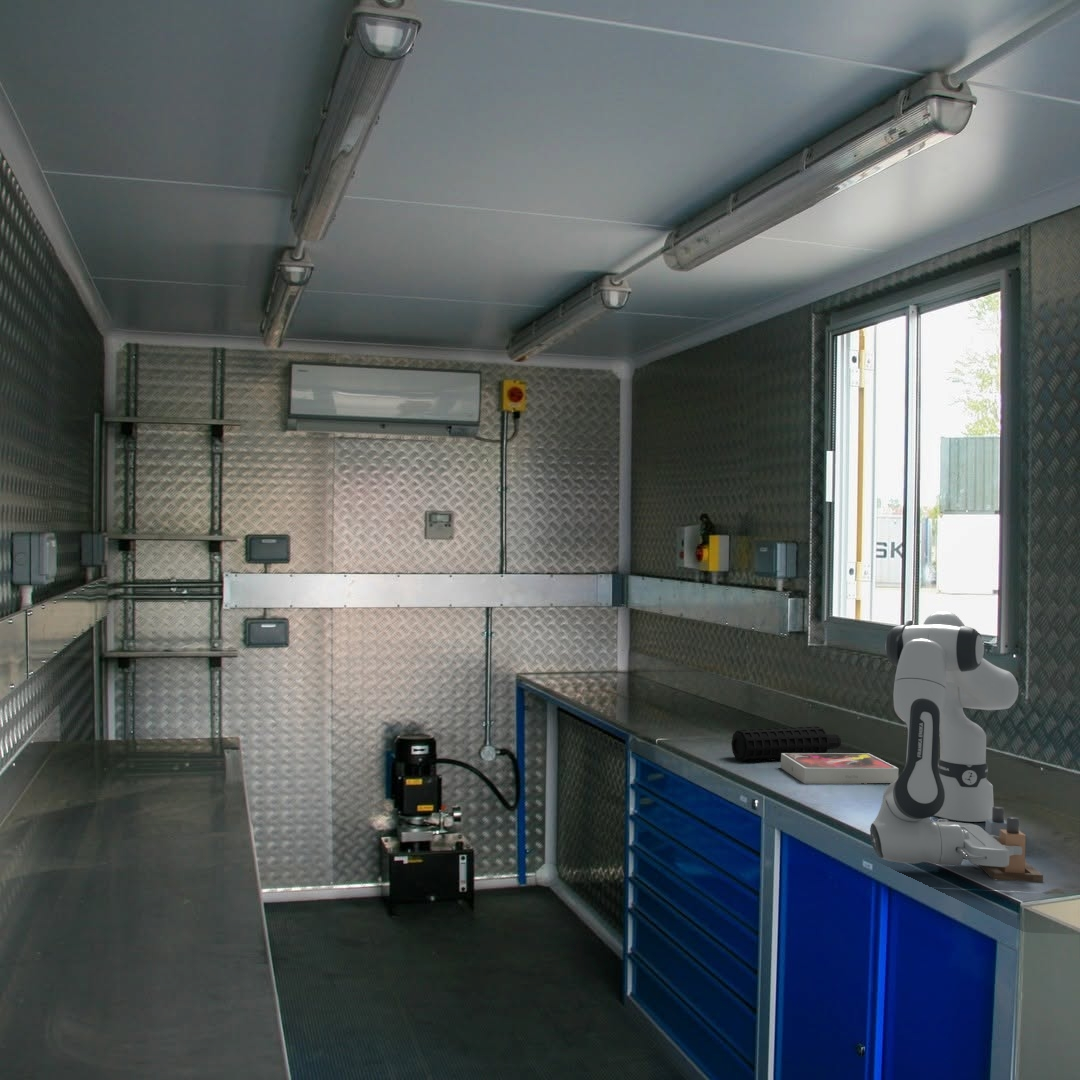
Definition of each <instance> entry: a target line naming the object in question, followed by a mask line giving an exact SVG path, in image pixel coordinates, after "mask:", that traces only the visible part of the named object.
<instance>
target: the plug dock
mask: <svg viewBox="0 0 1080 1080" xmlns="http://www.w3.org/2000/svg"><path fill="white" fill-rule="evenodd" d="M977 866H978V867H979V868H980V869H982V870H983V871H984V872H985V873H986V874H987V875H988V876H989V877H990V878H991V879H992V880H995V879H997V880H995V881H1019V882H1037V883H1043V882H1044V874H1042V873H1041V872H1040V871H1038V870H1037V869H1036V867H1035V868H1034V867H1033V866H1032V865H1031V864H1030V863H1028V862H1027V860H1025V873H1010V872H1001V871H1000V870H999V867H993V866H983V865H977Z"/></svg>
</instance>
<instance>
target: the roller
mask: <svg viewBox="0 0 1080 1080" xmlns="http://www.w3.org/2000/svg"><path fill="white" fill-rule="evenodd" d="M841 745H842V738H841V736H840V735H839V734H836V733H827V732H826V731H825V729H824V728H823V727H821V726H804V727H803V726H802V727H801V726H800V727H799V726H798V727H797V726H796V727H780V728H779V727H775V728H773V727H772V728H755V729H754V728H753V729H737V730H736V731H735V732H734V733H733V734H732V738H731V750H732V751H731V752H732V754H733V756H734V758H735V760H736V761H738V762H740V763H744V762H745V763H747V762H762V761H763V762H764V761H765V762H767V761H781V753H828V751H829V750H834V749H838V748H840V747H841Z"/></svg>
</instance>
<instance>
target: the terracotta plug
mask: <svg viewBox="0 0 1080 1080" xmlns="http://www.w3.org/2000/svg"><path fill="white" fill-rule="evenodd" d="M1006 821H1007V829H1006V830H1004V829H1000V835H999V843H1001V844H1002V845H1005V846H1011V845H1019V846H1021V847H1022V855H1012V856H1009V866H1007V867H999V870H1000V871H1001V872H1010V873H1025V861H1026V837H1027V835H1026V834H1025V833H1024V832H1022V831H1021V830H1020V818H1019V817H1015V816H1007V817H1006Z"/></svg>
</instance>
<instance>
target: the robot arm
mask: <svg viewBox="0 0 1080 1080" xmlns="http://www.w3.org/2000/svg"><path fill="white" fill-rule="evenodd" d="M885 652H886V654H885V655H886V659H887V660H888V662H889V663H890V664H891V665H892V666H893V667H894V668H896V672H895V675H894V677H895V678H894V681H893V682H894V684H893V696H892V697H893V698H892V700H893V708H894V712H895V714H896V715H897V716H898V718H899V719H901V720H902V722H904V723H905V724H906V727H907V745H906V757H905V758H906V760H905V764H904V765H905V766H904V768H903V770H902V772H901V773H900V774H899V775H898V779H896V780H895V781H894V782H892V783H891V784H888V786H887V787H886V788H885V790H884V792H883V795H882V796H883V797H882V800H881V801H882V802H881V806H880V809H879V811H878V813H877V816H876V818H875V819H874V820H873V822H872V823H871V824H870V828H869V832H870V833H869V835H870V841H871V846H872V849H873V850H874V852H875V854H876V855H877V856H878V857H879V858H880V859H882V860H885V861H889V862H896V863H902V864H903V863H904V864H919V863H929V864H933V865H939V866H940V865H943V866H944V865H945V866H960V865H961V864H962V862H963V860H967V861H968V862H969V863H971V864H974V865H977V866H978V865H983V866H993V867H1007V866H1009V856H1012V855H1022V847H1021V846H1019V845H1011V846H1005V845H1002V844H1001V843H999V836H995V835H990V834H988V833H987V832H986V831H985V830H984V828H982V827H981V825H980V826H979V825H978V824H973V823H972V822H974V823H977V822H986V819H992V807H994V786H993V784H992V783H991V782H990V781H989V780H988V779H987V777H988V771H989V767H988V763H987V761H986V760H987V759H986V758H987V734H986V732H985V730H984V729H983V728H982V727H981V726H980V725H979V724H978V723H976V722H974V721H972V720H970V719H969V718H968V717H967V715H965V712H964V709H963V708H966V709H973V710H984V711H997V710H998V711H999V710H1008V709H1010V708H1011V707H1012V706H1013V705H1014V704H1015V702H1016V701H1017V699H1018V696H1019V683H1018V681H1017V679H1016V677H1015V675H1013V673H1012V672H1010V671H1009V670H1007V669H1004V668H1001V667H999V666H996V665H995V664H993V663H991V662H990V661H988V660H987V659H985V658H984V655H985V646H984V641H983V639H982V636H981V634H980V632H979V631H977V630H976V628H974V627H969V626H965V623H964V622H963V621H962V620H961V619H960V617H959V616H958V615H956V614H955V613H953V612H950V611H944V610H941V611H937V612H934V613H932V614H930V615H929V616H927V617H926V619H925V620H924V622H923V624H915V625H913V624H912V625H907V624H901V625H897V626H894V627H892V628H891V629H890V630H889V631H888V633H887V636H886V639H885ZM939 743H940V744H939ZM939 751H940V752H939ZM939 755H940V757H939ZM933 816H935V817H939V819H937V821H932V820H931V817H933ZM950 820H951V821H950ZM956 821H957V822H956ZM964 822H965V823H964ZM966 822H967V823H966ZM970 822H971V823H970Z"/></svg>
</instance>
